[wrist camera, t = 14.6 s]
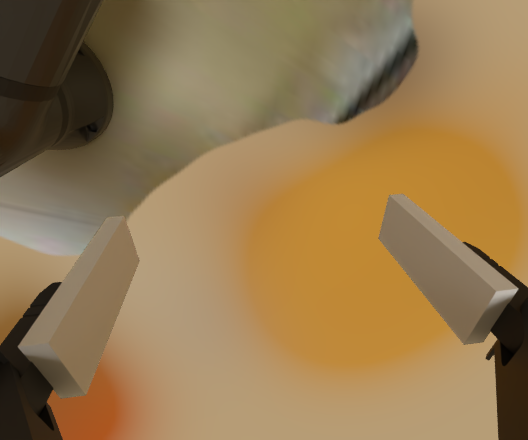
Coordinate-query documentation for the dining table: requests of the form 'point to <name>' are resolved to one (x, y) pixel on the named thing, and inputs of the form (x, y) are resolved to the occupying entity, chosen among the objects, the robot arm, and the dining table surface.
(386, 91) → the dining table surface
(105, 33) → the dining table surface
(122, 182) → the dining table surface
